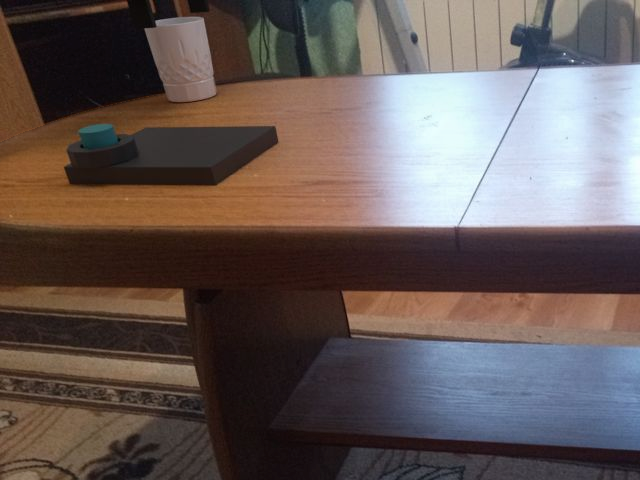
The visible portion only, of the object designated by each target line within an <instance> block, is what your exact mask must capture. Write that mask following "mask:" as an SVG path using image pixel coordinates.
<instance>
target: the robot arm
mask: <svg viewBox="0 0 640 480" xmlns="http://www.w3.org/2000/svg"><path fill="white" fill-rule="evenodd" d="M186 1H187V5H188V8H189V13H190V14H196V13H208V12H211V9H210V5H209V0H186ZM126 3H127V6H128V10H129V13H130V16H131V17H130V18H131V20H132V24H133V27H134V30H140V29H141V30H142V29H143V30H144V28H155V27H157V26H156V22H155V21H156V19H155V15H154V12H153V8H152V5H151V1H150V0H126Z"/></svg>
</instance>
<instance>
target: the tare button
mask: <svg viewBox="0 0 640 480" xmlns="http://www.w3.org/2000/svg"><path fill="white" fill-rule="evenodd" d="M77 133H78V136H79V138H80V140H81V141H82V144H83V147H84V148H99V147H105V146H109V145H113V144H115V143H118V139H117V136H116V134H117V132H116V129H115V126H114V125H113V124H111V123H99V124H97V123H96V124H91V125H87V126H85V127H81V128H80V129H78V130H77Z"/></svg>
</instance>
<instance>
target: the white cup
mask: <svg viewBox="0 0 640 480" xmlns="http://www.w3.org/2000/svg"><path fill="white" fill-rule="evenodd" d="M155 22H156V26H157V27H155V28H143V30H144V32H145V35H146V38H147V41H148V42H147V43H148V45H149V48H150V51H151V54H152V57H153V62H154V64H155V66H156V68H157V72H158V75H159V76H158V77H159V78H160V80H161V82H162V86H163V89H164V93H165V95H166V98H167V100H168V101H170V102H171V103H187V102H188V103H191V102H196V101H202V100H206V99H210V98H212V97H214V96H216V95H217V93H218V91H217V87H216V81H215V77H214V73H215V72H214V67H213V61H212V54H211V49H210V44H209V40H208V39H209V38H208V34H207V28H206V23H205V18H204V17H202V16H180V17H170V18H164V19H163V18H162V19H158V20H155Z"/></svg>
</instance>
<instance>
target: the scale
mask: <svg viewBox="0 0 640 480" xmlns="http://www.w3.org/2000/svg"><path fill="white" fill-rule="evenodd" d="M116 136H117V139H118V143H115V144H113V145H109V146H105V147H99V148H84V147H83V144H82V141H81V139H80V140H77V141H75V142H73V143H70V144H69V145H68V146H67V147H66V153H67V156H68V158H69V161H70V163H68V164H67V165H64V166H63V169H64V172H65V174H66V178H67V181H68V182H69V185H102V186H103V185H104V186H105V185H107V186H109V185H112V186H114V185H115V186H116V185H117V186H120V185H121V186H123V185H124V186H131V185H132V186H217V185H218V184H220V183H221V182H223V181H224V180H226V179H228V178H229V177H230V176H232V175H233V174H234V173H236V172H238V171H239V170H240V169H242V168H243V167H245V166H246V165H248V164H249V163H251V162H252V161H254V160H255V159H257V158H258V157H259V156H261V155H263V154H264V153H266V152H267V151H269V150H270V149H271V148H273V147H274V146H275V145H277V144H279V137H278V132H277V128H276V125H251V126H249V125H248V126H247V125H243V126H242V125H241V126H234V125H233V126H165V127H164V126H157V127H155V126H152V127H151V126H149V127H148V126H147V127H144V128H142V129H139V130H137V131H135V132H133V133H131V134H128V133H116Z"/></svg>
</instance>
